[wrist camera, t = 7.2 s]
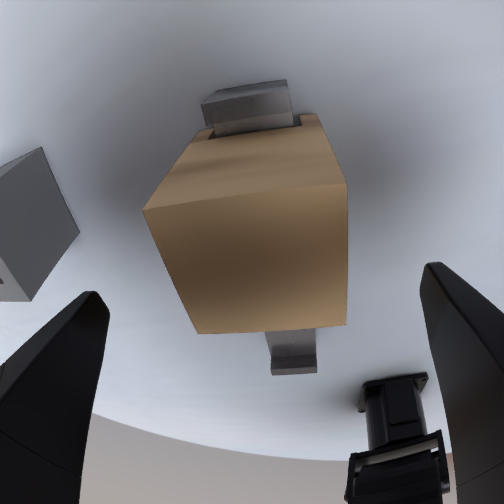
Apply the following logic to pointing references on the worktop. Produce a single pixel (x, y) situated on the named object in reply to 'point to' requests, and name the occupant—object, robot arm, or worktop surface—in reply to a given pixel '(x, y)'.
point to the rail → (254, 120)
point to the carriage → (256, 230)
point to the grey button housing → (30, 226)
